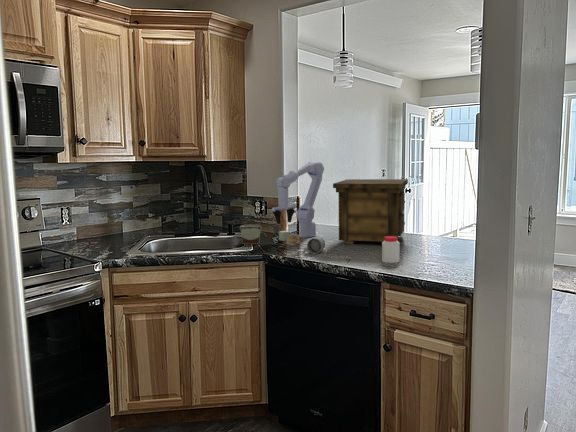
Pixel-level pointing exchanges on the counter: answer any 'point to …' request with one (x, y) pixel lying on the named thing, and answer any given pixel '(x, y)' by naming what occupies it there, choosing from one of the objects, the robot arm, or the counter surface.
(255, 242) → the food container
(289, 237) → the slab upper
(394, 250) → the pill bottle
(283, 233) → the sage block
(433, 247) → the counter surface
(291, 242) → the slab lower
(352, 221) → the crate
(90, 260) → the counter surface
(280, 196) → the robot arm
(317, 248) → the ceramic mug
